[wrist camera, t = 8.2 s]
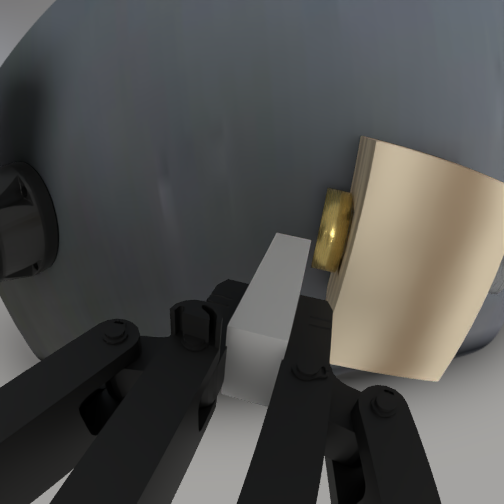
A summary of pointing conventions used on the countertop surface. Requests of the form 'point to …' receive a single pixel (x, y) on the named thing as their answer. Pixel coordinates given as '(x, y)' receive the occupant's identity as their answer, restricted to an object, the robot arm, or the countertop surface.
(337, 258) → the pin
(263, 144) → the countertop surface
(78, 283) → the countertop surface
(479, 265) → the bore block
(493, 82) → the countertop surface
